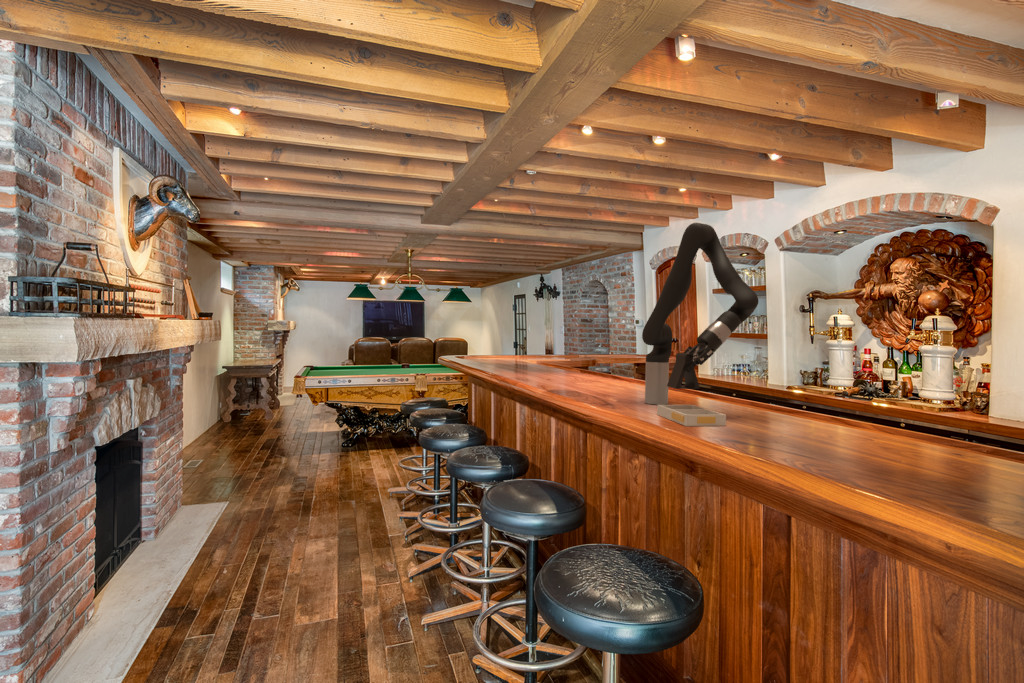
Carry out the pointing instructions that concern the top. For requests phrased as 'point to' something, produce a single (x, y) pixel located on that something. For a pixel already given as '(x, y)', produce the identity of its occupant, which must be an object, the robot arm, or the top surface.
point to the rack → (691, 415)
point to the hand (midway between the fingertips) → (681, 369)
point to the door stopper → (683, 373)
